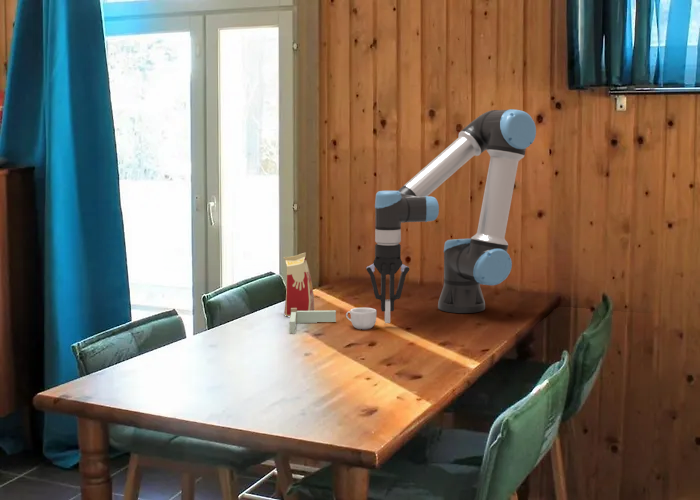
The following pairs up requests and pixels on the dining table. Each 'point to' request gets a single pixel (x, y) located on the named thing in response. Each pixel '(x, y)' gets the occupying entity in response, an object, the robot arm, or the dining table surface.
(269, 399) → the dining table surface
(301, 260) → the milk carton
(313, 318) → the corner fence
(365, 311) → the teacup
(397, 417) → the dining table surface
